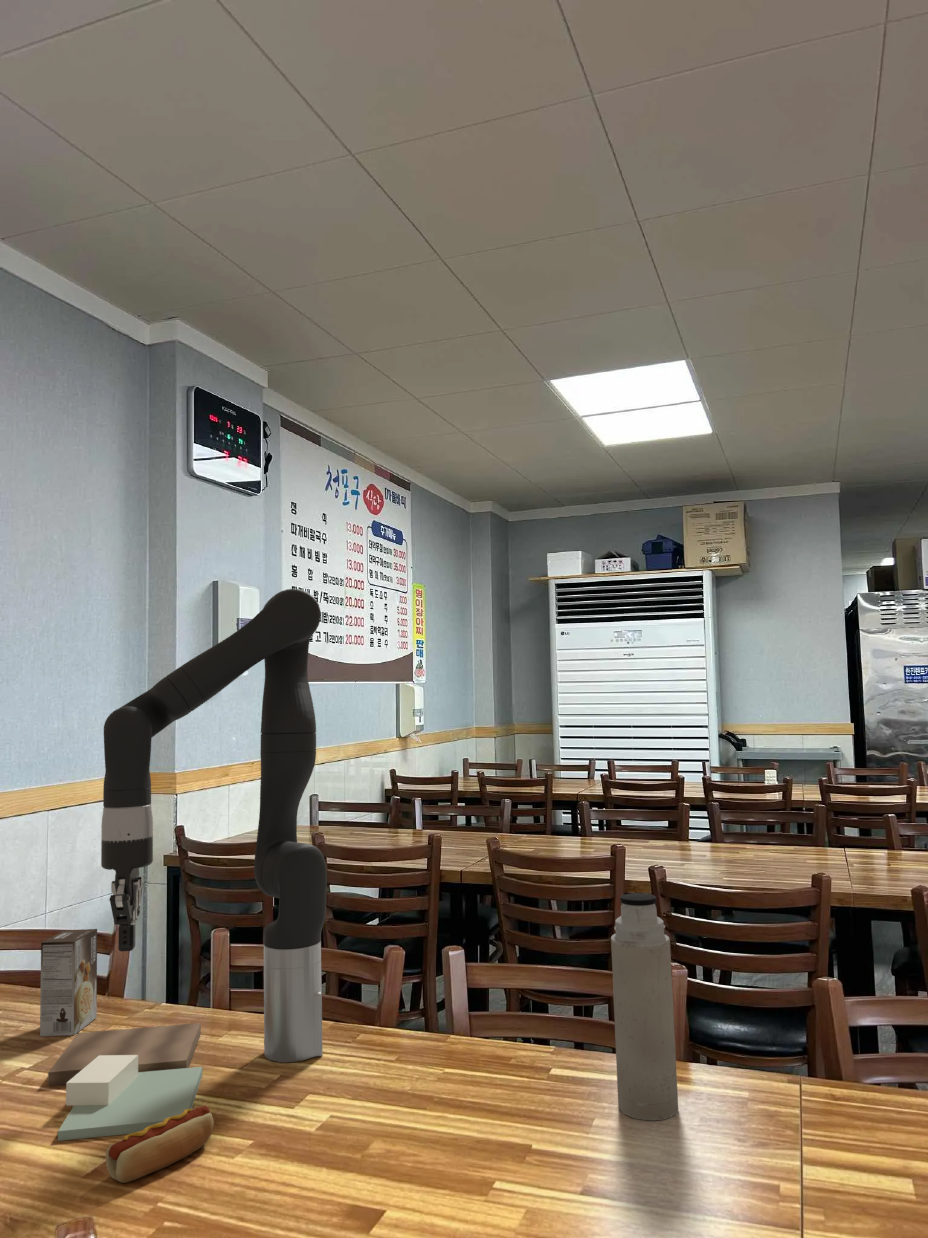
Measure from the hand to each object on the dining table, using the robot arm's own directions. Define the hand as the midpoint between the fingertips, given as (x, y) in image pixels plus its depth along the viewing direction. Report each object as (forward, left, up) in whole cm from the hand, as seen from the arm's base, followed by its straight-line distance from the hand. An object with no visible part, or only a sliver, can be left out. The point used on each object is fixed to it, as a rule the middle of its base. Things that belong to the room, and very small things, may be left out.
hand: (127, 949), depth 138 cm
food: (-10, +28, -19) cm, 35 cm away
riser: (+1, -8, -19) cm, 21 cm away
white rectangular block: (+2, +7, -18) cm, 19 cm away
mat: (-3, +10, -19) cm, 22 cm away
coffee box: (+15, -27, -19) cm, 36 cm away
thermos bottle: (-73, +27, -19) cm, 80 cm away
